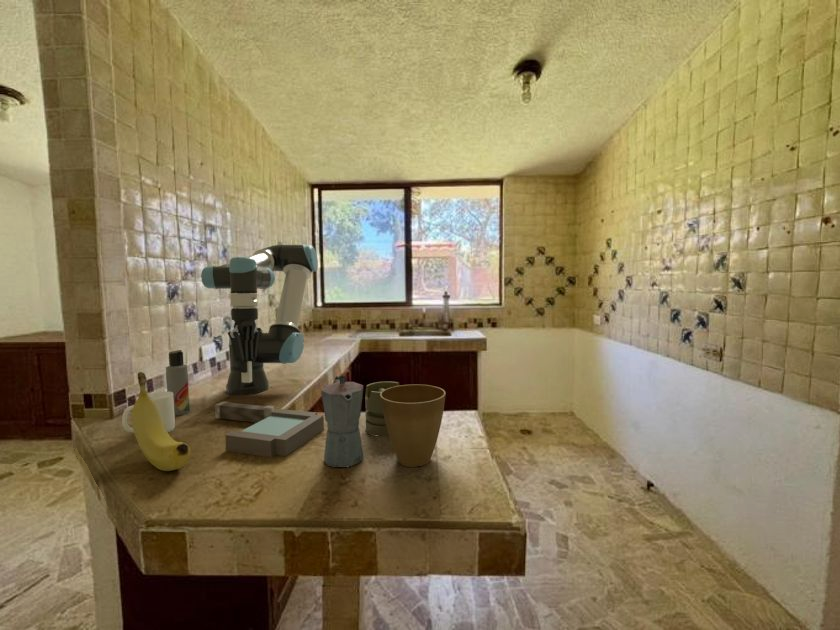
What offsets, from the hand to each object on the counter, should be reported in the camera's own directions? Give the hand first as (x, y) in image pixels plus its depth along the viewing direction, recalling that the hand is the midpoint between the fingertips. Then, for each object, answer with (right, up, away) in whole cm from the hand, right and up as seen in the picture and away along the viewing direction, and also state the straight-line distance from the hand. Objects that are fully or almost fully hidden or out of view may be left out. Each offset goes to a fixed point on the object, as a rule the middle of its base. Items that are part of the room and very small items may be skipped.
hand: (247, 381), depth 117 cm
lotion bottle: (-22, -10, +1) cm, 24 cm away
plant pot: (+53, -13, -31) cm, 63 cm away
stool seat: (+18, -11, -19) cm, 28 cm away
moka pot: (+37, -13, -31) cm, 49 cm away
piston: (+45, -11, -12) cm, 48 cm away
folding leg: (+2, -10, -6) cm, 12 cm away
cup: (-19, -12, -15) cm, 27 cm away
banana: (-4, -13, -33) cm, 35 cm away
